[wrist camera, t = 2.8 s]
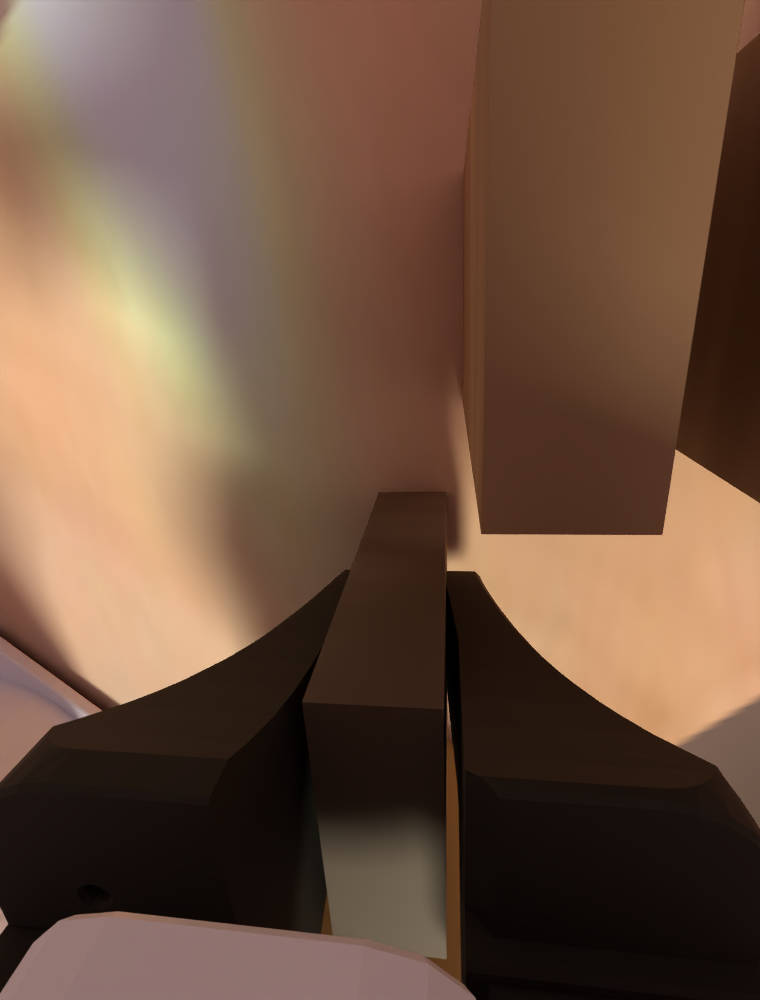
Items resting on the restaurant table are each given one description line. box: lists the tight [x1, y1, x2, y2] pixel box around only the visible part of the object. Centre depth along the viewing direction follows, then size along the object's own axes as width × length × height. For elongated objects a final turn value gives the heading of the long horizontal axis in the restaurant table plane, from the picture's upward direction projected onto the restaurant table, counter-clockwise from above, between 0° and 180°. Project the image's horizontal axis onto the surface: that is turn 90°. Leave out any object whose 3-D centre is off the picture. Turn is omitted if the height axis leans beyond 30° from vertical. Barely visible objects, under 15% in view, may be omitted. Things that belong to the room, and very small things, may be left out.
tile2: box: [463, 0, 745, 535], centre depth 7 cm, size 2×4×7 cm, turn 3°
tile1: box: [302, 492, 447, 959], centre depth 10 cm, size 2×4×7 cm, turn 3°
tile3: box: [676, 34, 760, 503], centre depth 7 cm, size 2×4×7 cm, turn 3°
